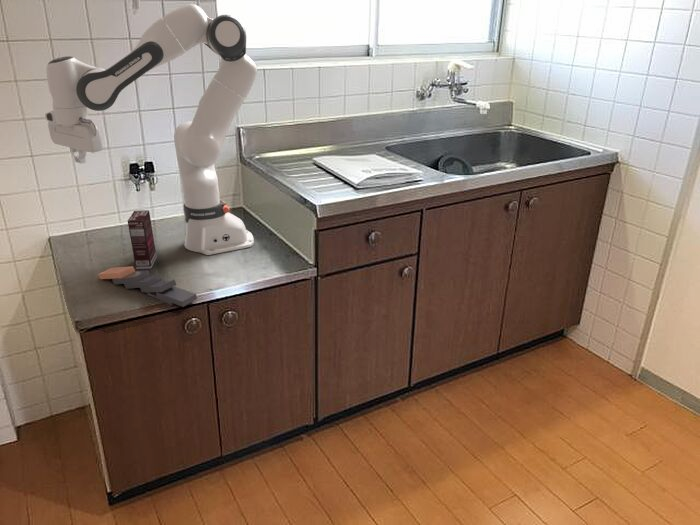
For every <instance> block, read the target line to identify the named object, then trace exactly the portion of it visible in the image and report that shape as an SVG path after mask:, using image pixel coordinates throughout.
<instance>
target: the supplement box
mask: <svg viewBox="0 0 700 525" xmlns="http://www.w3.org/2000/svg"><path fill="white" fill-rule="evenodd" d="M127 224H128V226H127V227H128V232H129V236H130V242H131V247H132V248H131V249H132V253H133V254H132V255H133V260H134V264H135V269H136V270H150V269H152V268H153V266H154V264H155V262H156V259H157V257H158V255H157V250H156V245H155V244H156V243H155V239H154V233H153V227H152V220H151V214H150V210H148V209H147V210H145V209H143V210H141V209H140V210H133V212H132V214H131V215H130V216H129V218H128V219H127Z"/></svg>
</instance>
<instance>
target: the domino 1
mask: <svg viewBox="0 0 700 525" xmlns="http://www.w3.org/2000/svg"><path fill="white" fill-rule="evenodd" d="M133 272H136V270H135V268H134V266H118V267H110V268H109V269H108V268H107V269H105V270H104V271H102V272H100V273H97V274H98V278H99V280H112V279H116V278H123V277H125V276H127V275H129V274H131V273H133Z"/></svg>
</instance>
